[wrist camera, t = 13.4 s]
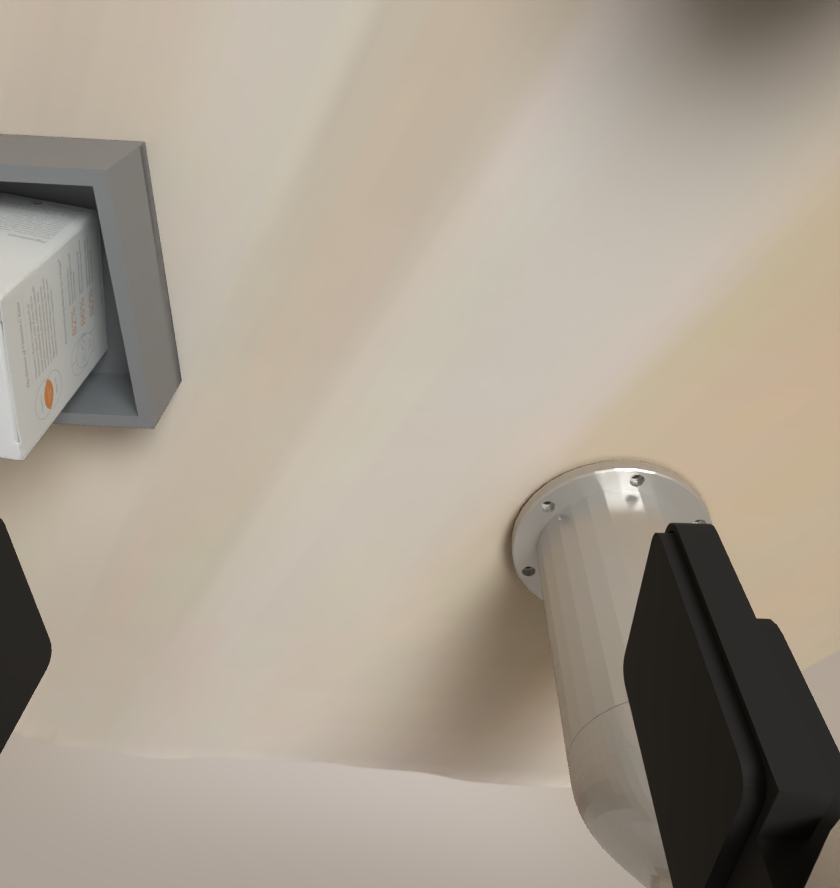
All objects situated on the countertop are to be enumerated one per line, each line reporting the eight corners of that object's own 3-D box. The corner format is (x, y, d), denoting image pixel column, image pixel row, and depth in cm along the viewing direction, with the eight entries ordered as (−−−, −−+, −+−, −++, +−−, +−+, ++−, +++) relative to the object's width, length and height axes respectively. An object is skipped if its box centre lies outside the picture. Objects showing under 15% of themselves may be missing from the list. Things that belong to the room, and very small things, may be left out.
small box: (-15, 185, 36) (-159, 267, 28) (103, 208, 37) (-1, 295, 28) (5, 333, 41) (-113, 444, 32) (110, 351, 41) (22, 465, 33)
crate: (145, 141, 36) (106, 170, 32) (181, 380, 43) (154, 428, 39) (-110, 128, 36) (-182, 154, 31) (-29, 369, 43) (-79, 416, 39)
